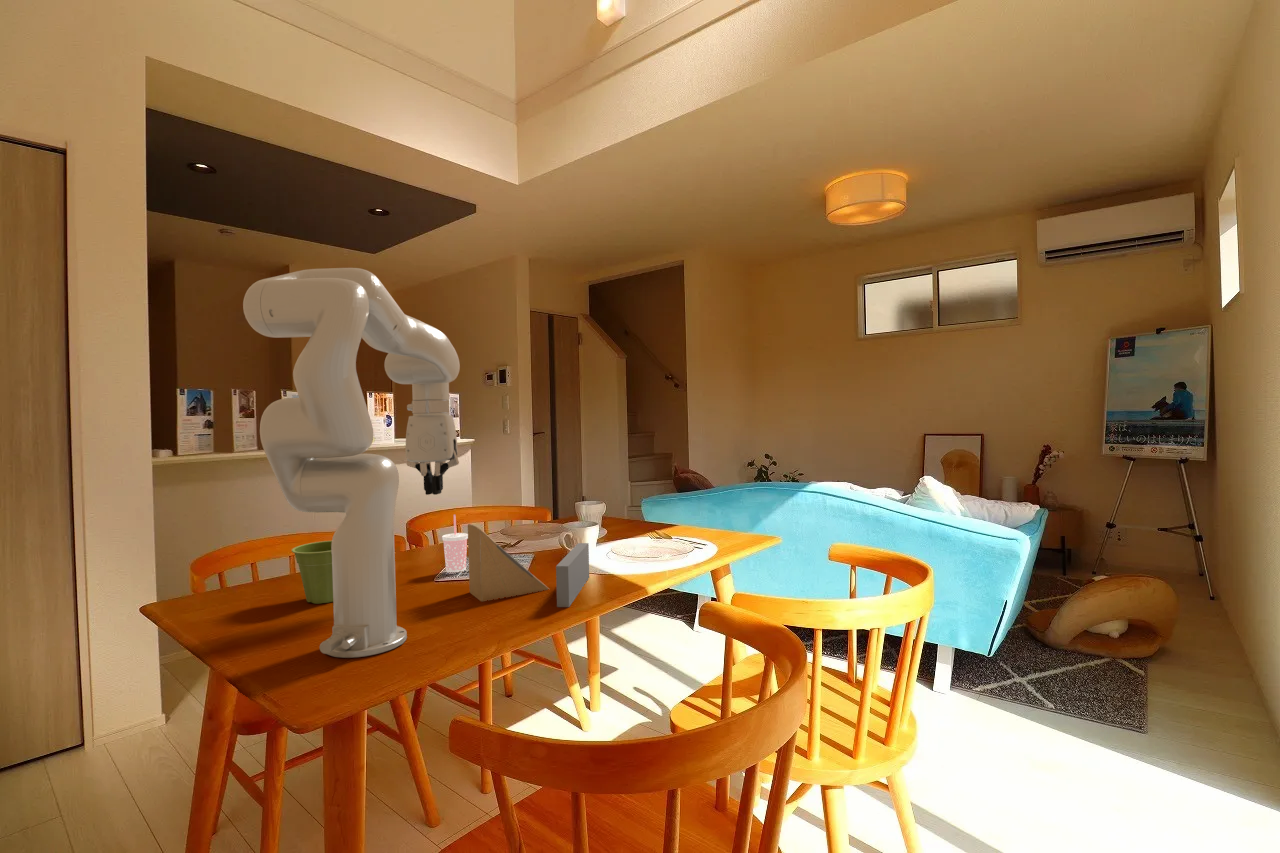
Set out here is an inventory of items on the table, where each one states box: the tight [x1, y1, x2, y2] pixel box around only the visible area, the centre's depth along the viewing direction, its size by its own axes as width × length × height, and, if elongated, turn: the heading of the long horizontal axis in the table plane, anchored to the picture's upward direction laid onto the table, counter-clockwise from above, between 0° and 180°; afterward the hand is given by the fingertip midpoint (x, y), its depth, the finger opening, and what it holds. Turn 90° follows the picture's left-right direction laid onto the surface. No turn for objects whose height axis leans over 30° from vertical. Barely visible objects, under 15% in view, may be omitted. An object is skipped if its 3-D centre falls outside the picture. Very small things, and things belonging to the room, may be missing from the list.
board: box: [555, 542, 590, 608], centre depth 133 cm, size 22×2×8 cm, turn 174°
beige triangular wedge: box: [467, 523, 550, 602], centre depth 134 cm, size 9×15×15 cm, turn 122°
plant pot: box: [291, 540, 333, 605], centre depth 131 cm, size 12×12×11 cm
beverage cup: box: [441, 514, 468, 572], centre depth 152 cm, size 6×6×14 cm
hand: (433, 493), depth 135 cm, fingers closed
